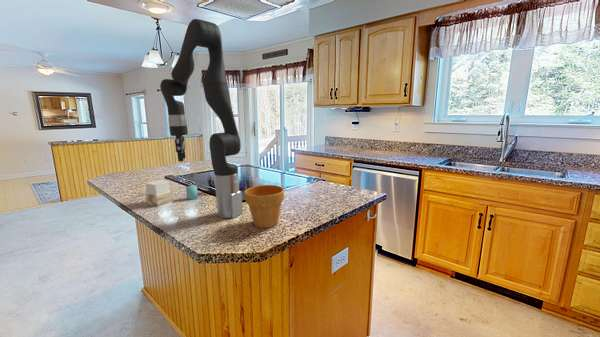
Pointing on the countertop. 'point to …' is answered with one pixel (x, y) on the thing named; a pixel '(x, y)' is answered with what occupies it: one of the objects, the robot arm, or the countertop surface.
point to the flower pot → (265, 204)
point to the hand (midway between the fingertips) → (182, 159)
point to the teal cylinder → (192, 192)
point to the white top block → (157, 187)
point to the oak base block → (159, 199)
